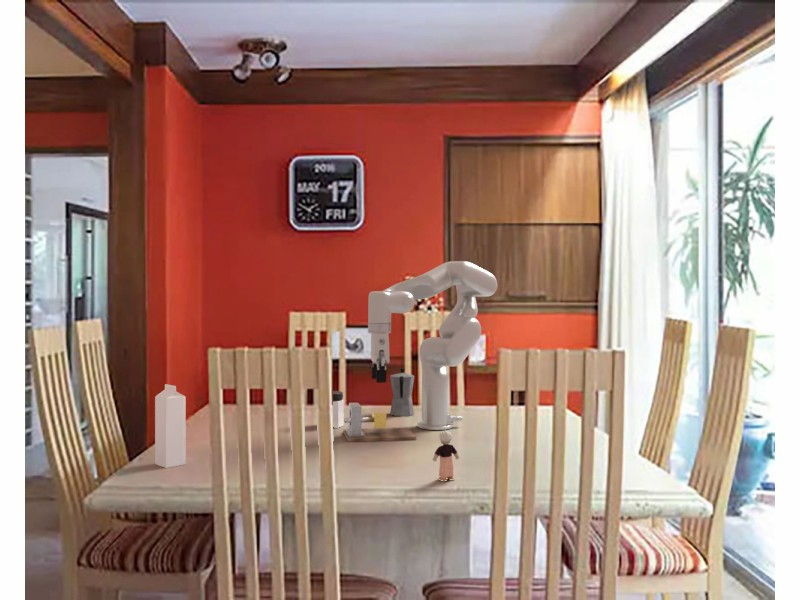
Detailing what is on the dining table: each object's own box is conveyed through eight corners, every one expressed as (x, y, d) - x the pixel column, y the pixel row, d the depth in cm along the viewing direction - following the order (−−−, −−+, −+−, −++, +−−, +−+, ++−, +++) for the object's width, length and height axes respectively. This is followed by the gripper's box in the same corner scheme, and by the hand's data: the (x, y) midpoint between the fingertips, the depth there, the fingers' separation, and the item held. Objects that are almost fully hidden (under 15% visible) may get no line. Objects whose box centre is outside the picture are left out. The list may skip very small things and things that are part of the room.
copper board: (407, 430, 251) (407, 427, 251) (416, 439, 236) (416, 436, 236) (343, 432, 246) (343, 429, 246) (348, 442, 232) (348, 438, 232)
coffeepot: (390, 411, 288) (391, 365, 288) (414, 411, 288) (415, 366, 287) (388, 418, 273) (388, 370, 272) (413, 418, 272) (414, 370, 272)
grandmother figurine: (450, 476, 192) (450, 427, 191) (460, 479, 189) (461, 430, 189) (428, 481, 187) (429, 431, 186) (439, 484, 184) (439, 434, 183)
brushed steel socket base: (360, 430, 245) (360, 402, 245) (364, 436, 235) (364, 407, 235) (345, 431, 244) (345, 402, 244) (349, 437, 234) (349, 407, 234)
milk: (174, 460, 206) (175, 382, 206) (185, 464, 202) (186, 384, 201) (154, 464, 201) (154, 384, 201) (165, 468, 197) (166, 386, 197)
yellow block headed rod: (383, 425, 244) (383, 410, 244) (386, 427, 239) (386, 413, 239) (342, 426, 241) (342, 411, 241) (344, 429, 237) (344, 414, 236)
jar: (347, 426, 256) (348, 392, 256) (328, 429, 251) (328, 394, 251) (333, 423, 263) (333, 389, 263) (314, 425, 258) (314, 391, 258)
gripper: (395, 330, 233) (394, 383, 233) (386, 327, 250) (385, 377, 250) (372, 330, 231) (371, 384, 232) (364, 327, 248) (364, 377, 249)
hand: (378, 380), depth 241 cm, fingers open, 9 cm apart
